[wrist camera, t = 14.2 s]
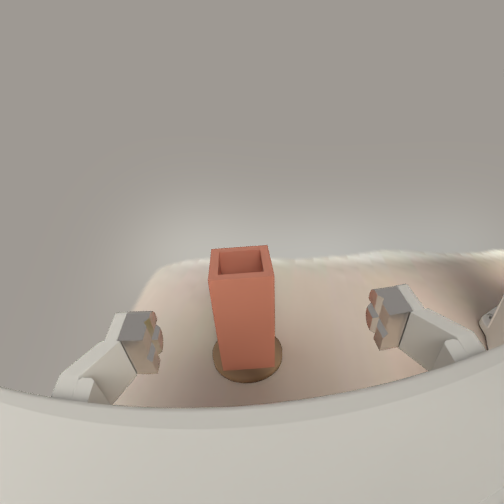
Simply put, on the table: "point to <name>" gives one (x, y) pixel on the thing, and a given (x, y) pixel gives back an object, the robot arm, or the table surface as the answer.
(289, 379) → the table surface
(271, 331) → the red square vase
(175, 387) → the table surface
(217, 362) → the shaft post
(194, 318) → the table surface
